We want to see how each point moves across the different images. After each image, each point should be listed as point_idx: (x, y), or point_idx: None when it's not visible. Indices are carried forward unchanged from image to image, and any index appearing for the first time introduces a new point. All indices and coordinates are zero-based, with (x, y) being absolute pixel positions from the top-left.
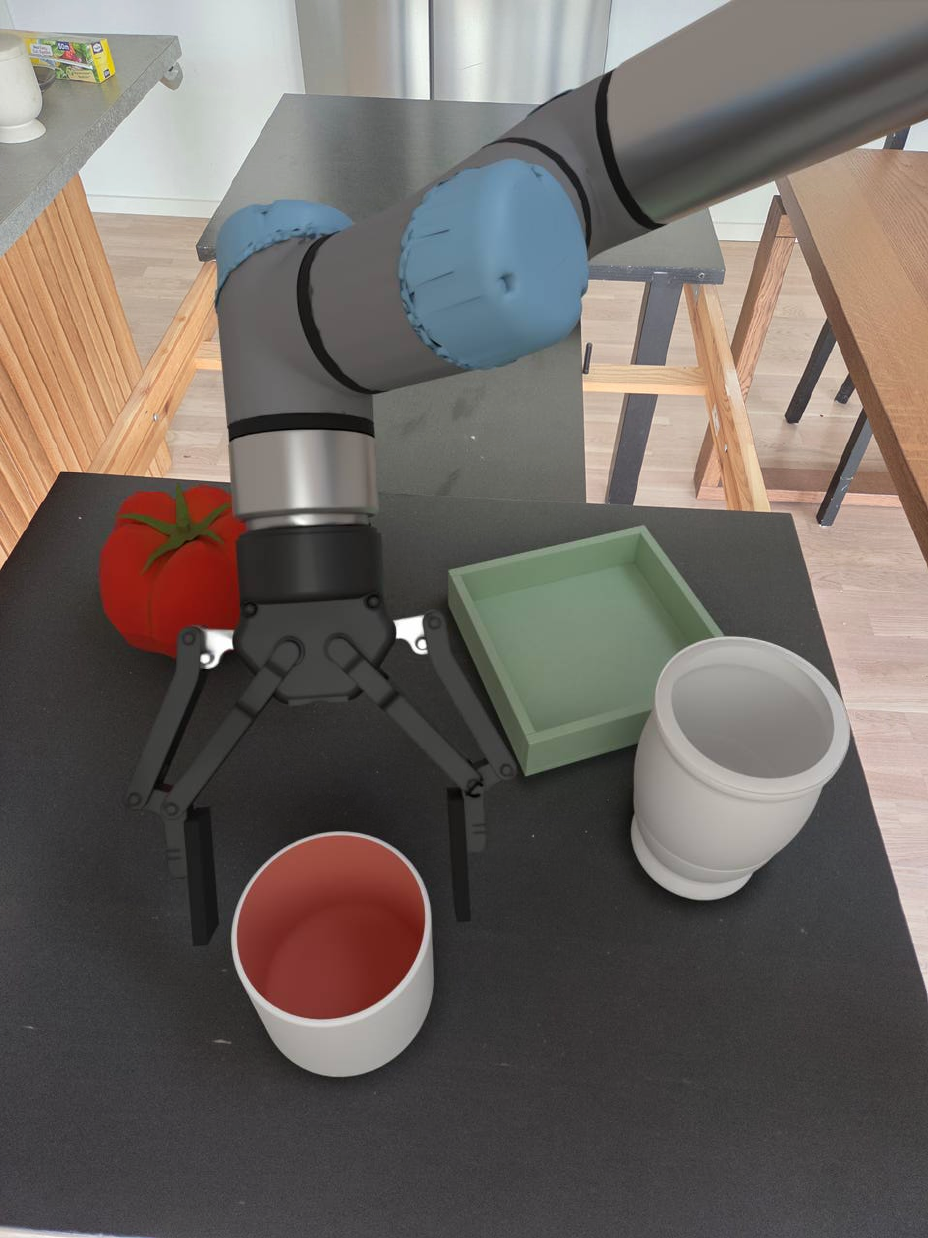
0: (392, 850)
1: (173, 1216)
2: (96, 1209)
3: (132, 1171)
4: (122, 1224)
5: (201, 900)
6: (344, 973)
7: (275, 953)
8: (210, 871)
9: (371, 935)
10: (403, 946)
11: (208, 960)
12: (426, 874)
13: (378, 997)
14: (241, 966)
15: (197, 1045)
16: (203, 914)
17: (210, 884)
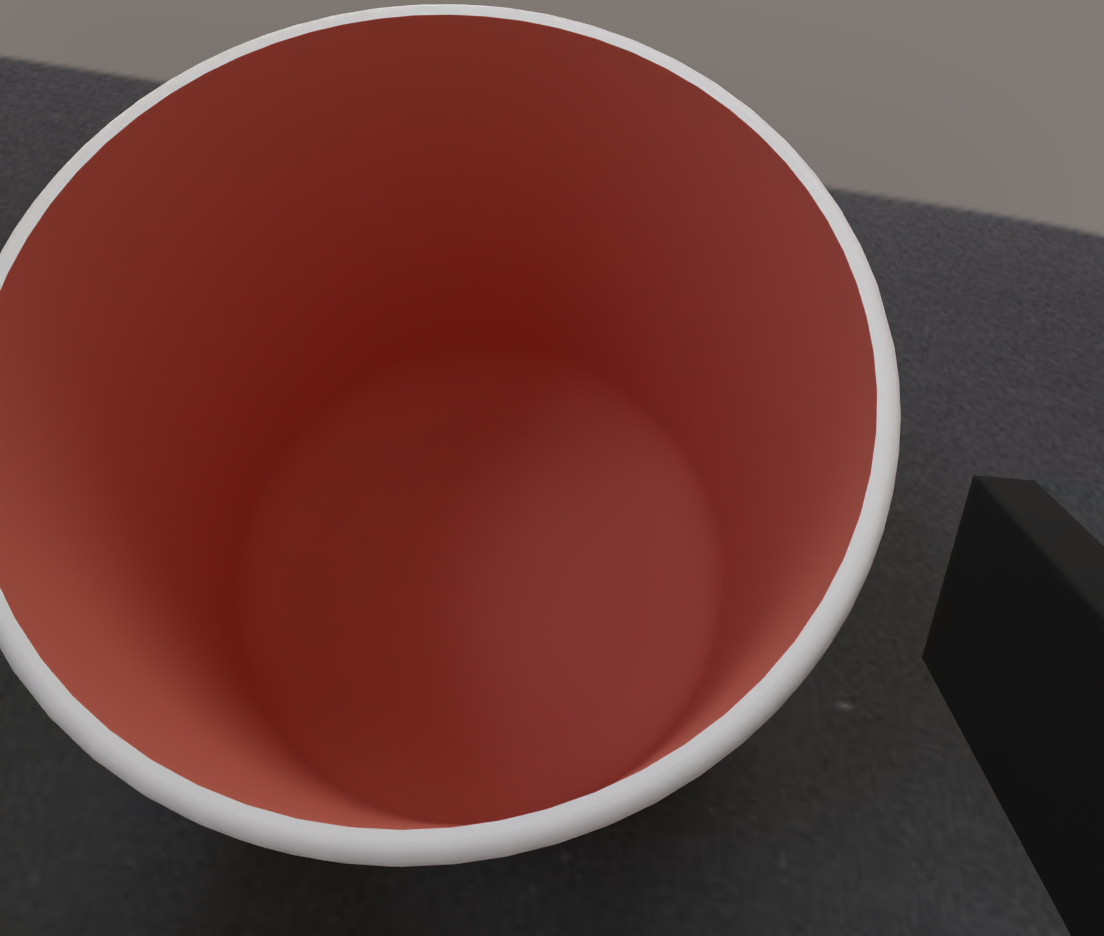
0: (33, 659)
1: (889, 213)
2: (1050, 248)
3: (992, 296)
4: (990, 218)
5: (1077, 571)
6: (491, 619)
7: (694, 691)
8: (1051, 771)
9: (395, 721)
10: (304, 666)
11: (897, 745)
12: (169, 918)
13: (406, 536)
14: (837, 233)
15: (892, 517)
16: (1039, 540)
17: (1031, 710)
